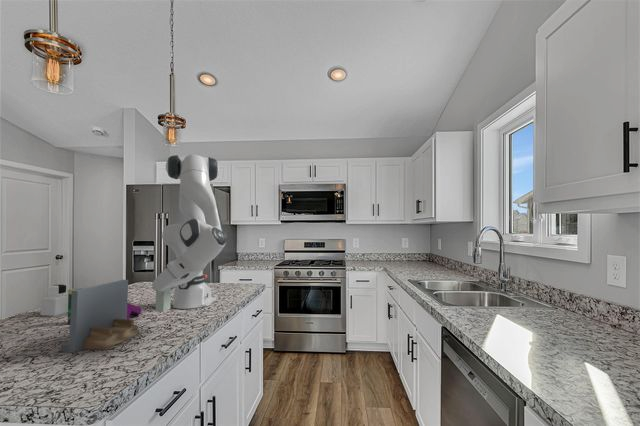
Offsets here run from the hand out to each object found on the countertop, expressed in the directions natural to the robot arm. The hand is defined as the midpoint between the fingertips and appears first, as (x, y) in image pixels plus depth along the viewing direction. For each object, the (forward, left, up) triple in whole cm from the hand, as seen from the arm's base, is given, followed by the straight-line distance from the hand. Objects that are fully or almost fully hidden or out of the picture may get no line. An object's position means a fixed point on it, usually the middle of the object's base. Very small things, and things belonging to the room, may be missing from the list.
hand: (163, 292), depth 109 cm
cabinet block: (0, 0, -6) cm, 6 cm away
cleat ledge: (+10, -10, -14) cm, 20 cm away
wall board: (+10, -16, -14) cm, 24 cm away
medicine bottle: (-14, -59, -14) cm, 62 cm away
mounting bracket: (-10, -25, -15) cm, 30 cm away
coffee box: (-5, -38, -14) cm, 41 cm away
